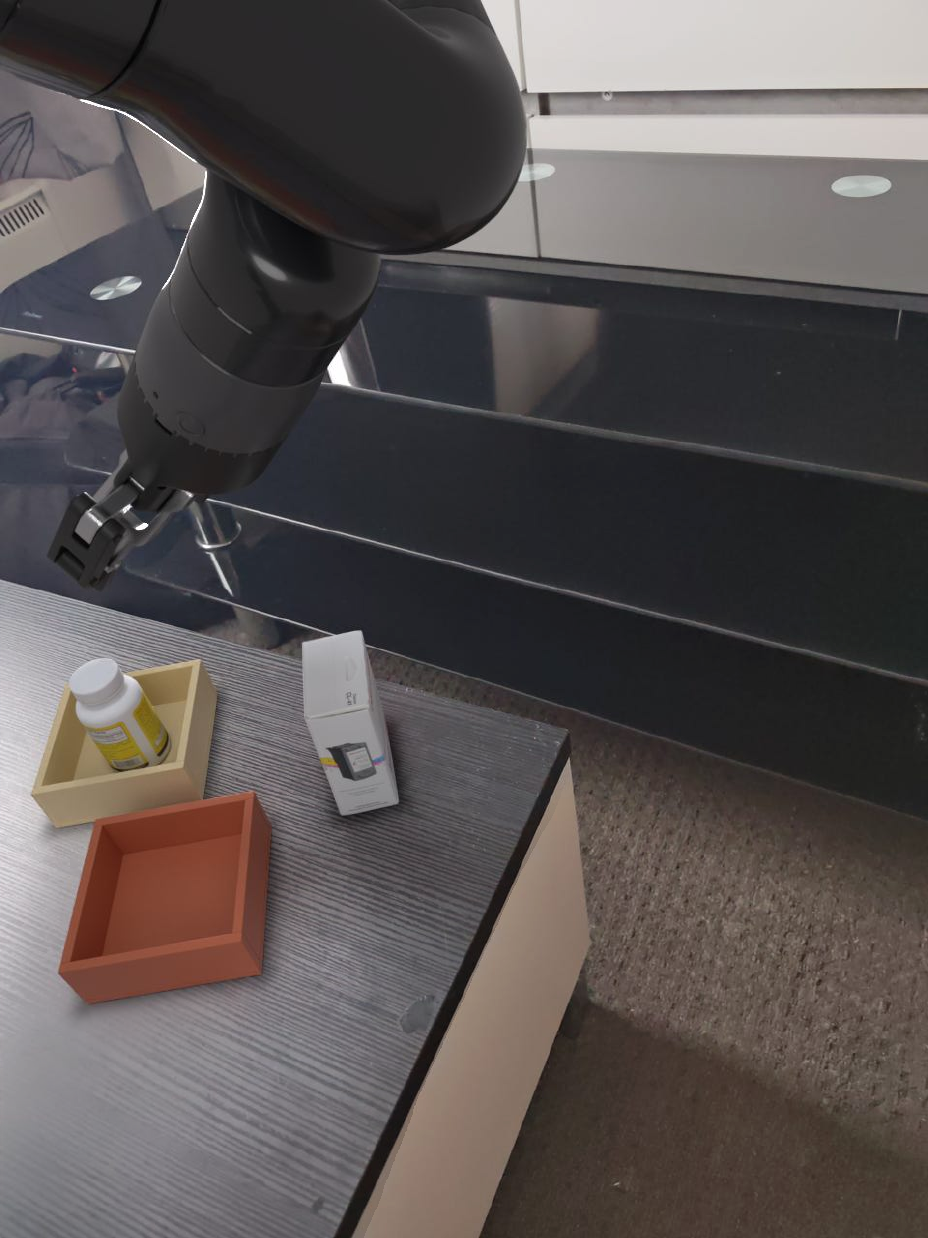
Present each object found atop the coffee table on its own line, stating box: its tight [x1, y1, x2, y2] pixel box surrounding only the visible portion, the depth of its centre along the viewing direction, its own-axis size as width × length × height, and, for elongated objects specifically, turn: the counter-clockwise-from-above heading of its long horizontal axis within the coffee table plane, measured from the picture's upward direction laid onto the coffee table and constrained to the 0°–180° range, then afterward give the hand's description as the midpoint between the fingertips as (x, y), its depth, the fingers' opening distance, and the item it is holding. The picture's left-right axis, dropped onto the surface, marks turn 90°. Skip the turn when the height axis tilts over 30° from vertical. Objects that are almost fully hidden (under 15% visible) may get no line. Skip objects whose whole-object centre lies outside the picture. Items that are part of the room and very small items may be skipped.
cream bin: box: [30, 658, 219, 829], centre depth 78 cm, size 12×12×5 cm
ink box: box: [301, 629, 400, 817], centre depth 71 cm, size 9×5×12 cm, turn 9°
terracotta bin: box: [57, 790, 273, 1005], centre depth 66 cm, size 12×12×5 cm
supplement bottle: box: [68, 657, 170, 773], centre depth 76 cm, size 5×5×10 cm
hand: (142, 531), depth 54 cm, fingers open, 8 cm apart
